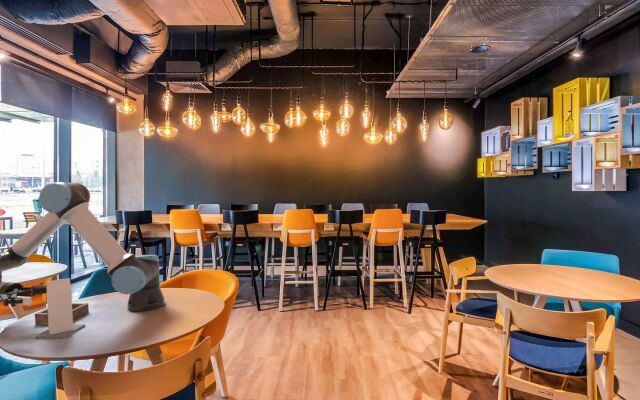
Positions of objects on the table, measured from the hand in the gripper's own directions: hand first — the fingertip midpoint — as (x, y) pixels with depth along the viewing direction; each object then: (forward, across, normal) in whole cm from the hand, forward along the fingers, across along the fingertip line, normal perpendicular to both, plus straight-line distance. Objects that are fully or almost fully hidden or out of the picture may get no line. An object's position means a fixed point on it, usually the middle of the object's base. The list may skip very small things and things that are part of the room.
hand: (49, 295), depth 139 cm
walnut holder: (-9, -12, -14) cm, 20 cm away
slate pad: (+4, 0, -14) cm, 14 cm away
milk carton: (+4, 0, -13) cm, 14 cm away
